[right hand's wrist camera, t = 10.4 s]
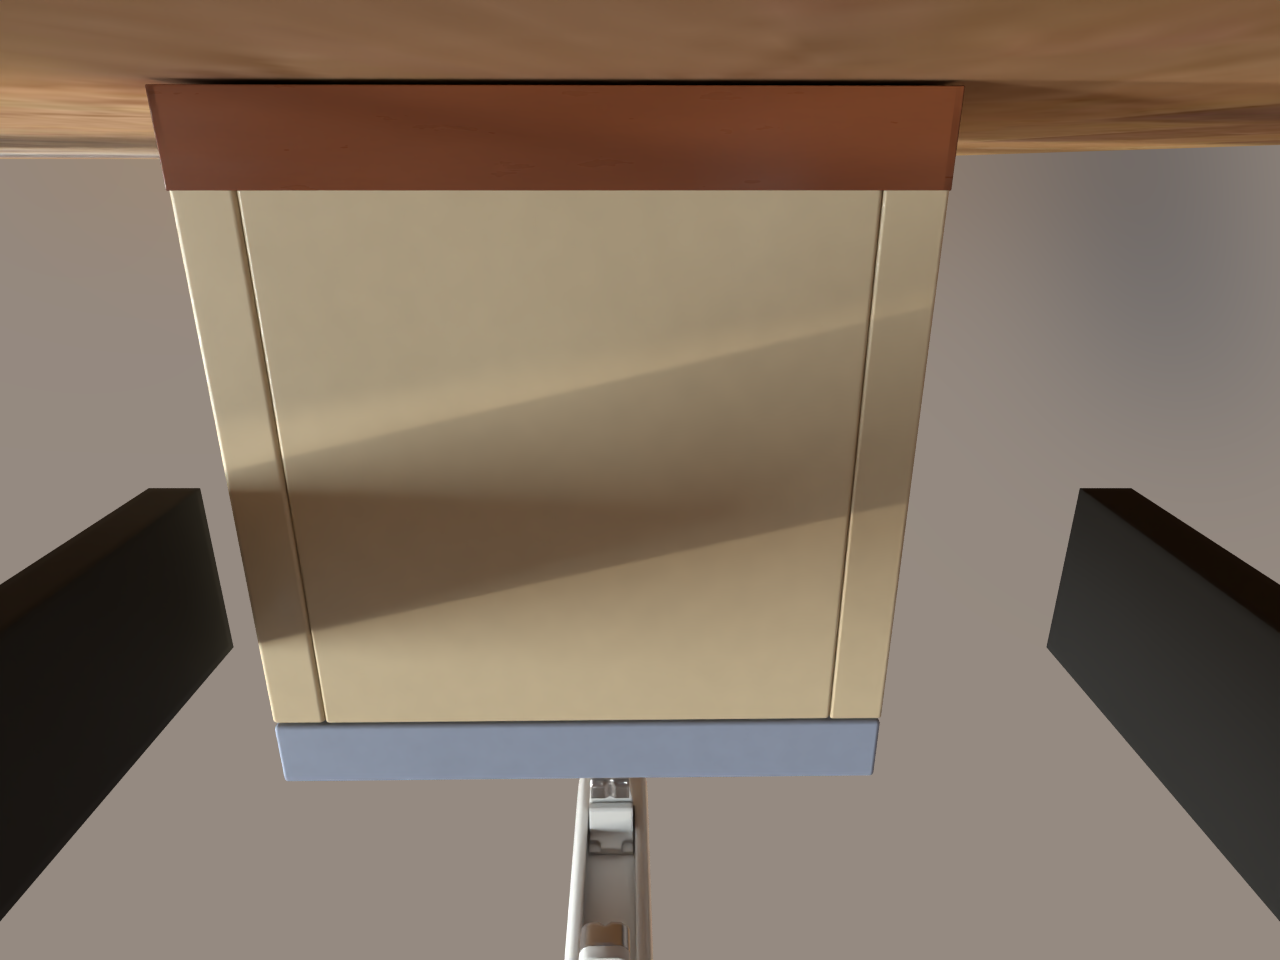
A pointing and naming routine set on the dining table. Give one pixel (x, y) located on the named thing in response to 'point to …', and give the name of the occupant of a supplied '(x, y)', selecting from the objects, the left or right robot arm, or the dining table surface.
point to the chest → (565, 386)
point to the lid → (577, 749)
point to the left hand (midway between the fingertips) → (607, 835)
